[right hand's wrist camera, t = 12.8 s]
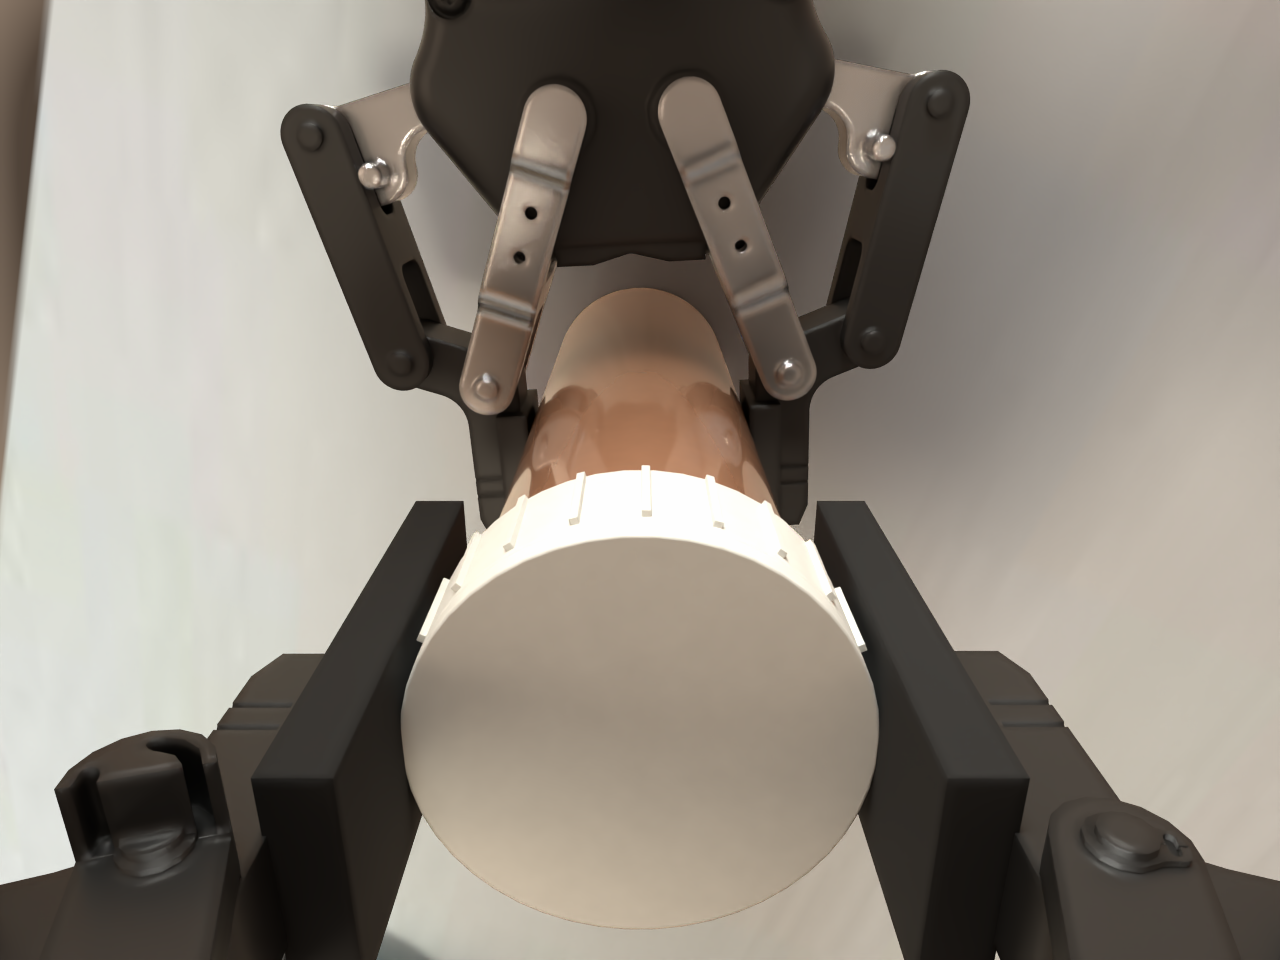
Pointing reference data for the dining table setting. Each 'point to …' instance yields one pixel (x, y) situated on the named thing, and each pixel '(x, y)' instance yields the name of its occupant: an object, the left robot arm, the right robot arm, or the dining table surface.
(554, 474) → the jar
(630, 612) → the lid
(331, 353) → the dining table surface
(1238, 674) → the dining table surface
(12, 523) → the dining table surface
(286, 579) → the dining table surface
